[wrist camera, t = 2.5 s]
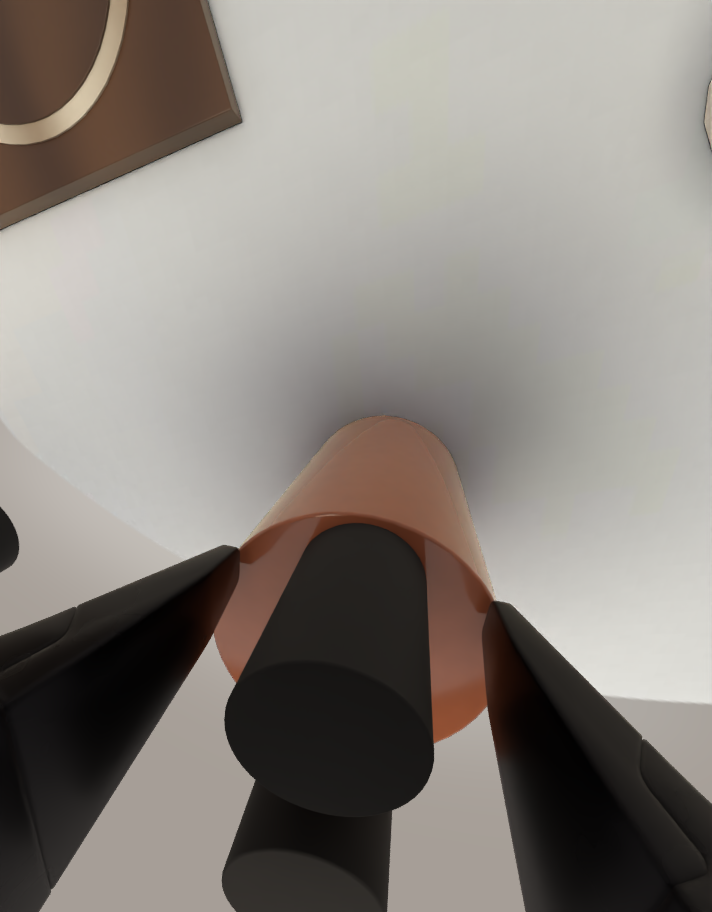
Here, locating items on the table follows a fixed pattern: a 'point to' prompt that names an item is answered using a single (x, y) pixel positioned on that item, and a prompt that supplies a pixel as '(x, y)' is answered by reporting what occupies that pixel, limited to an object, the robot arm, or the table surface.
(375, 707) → the dot
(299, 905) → the dot
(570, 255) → the table surface
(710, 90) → the off-white cylinder
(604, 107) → the table surface
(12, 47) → the board
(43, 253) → the table surface
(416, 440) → the pedestal
